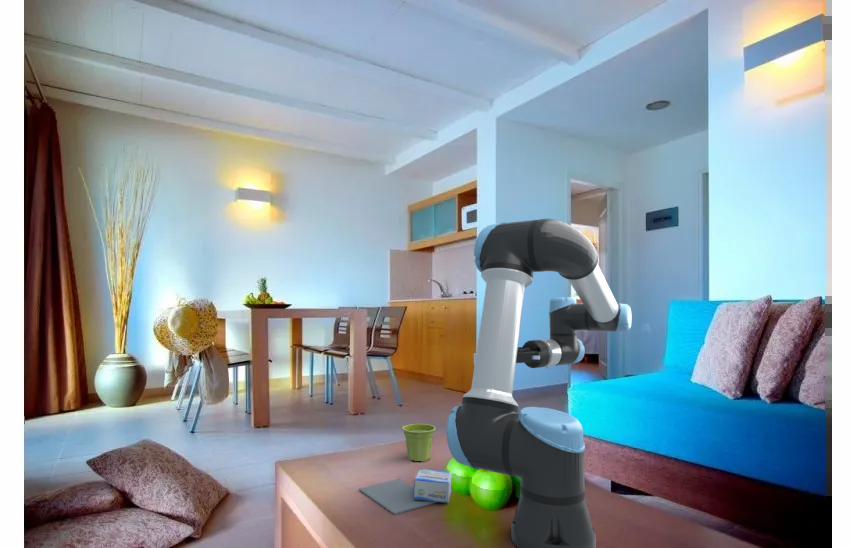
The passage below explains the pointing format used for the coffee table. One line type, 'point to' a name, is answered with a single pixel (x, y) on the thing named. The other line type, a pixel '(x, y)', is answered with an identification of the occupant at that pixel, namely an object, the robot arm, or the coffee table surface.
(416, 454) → the plant pot
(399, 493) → the mat
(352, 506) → the coffee table surface
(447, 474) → the medicine box
